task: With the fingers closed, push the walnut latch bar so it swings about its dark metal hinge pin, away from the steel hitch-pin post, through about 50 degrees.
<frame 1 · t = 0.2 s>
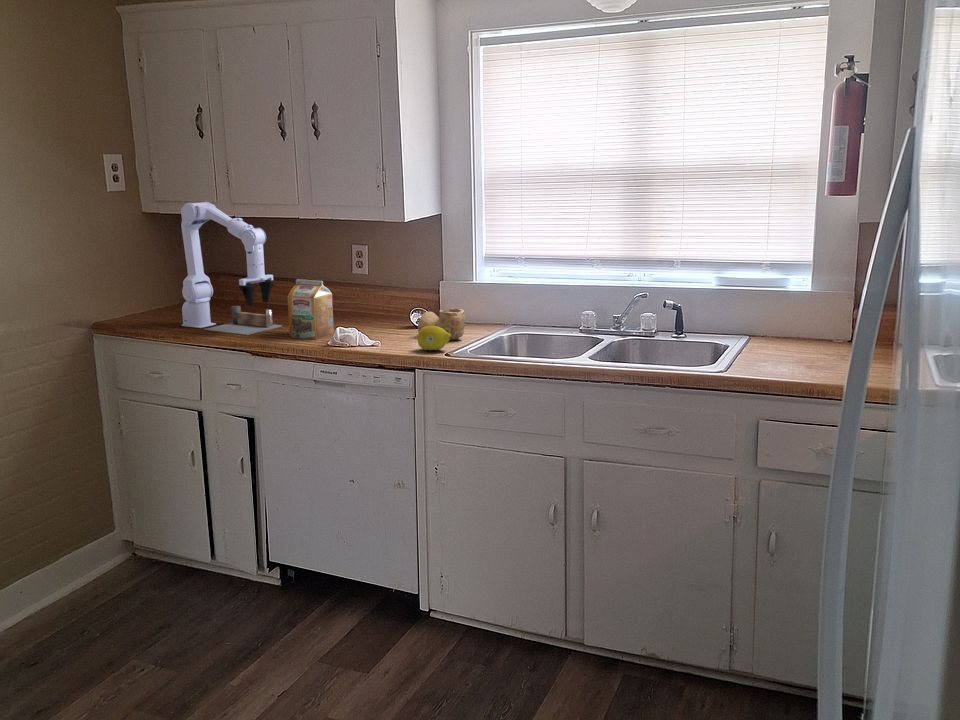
hand: (258, 303, 301), 10 cm above the counter, fingers open, 7 cm apart
mat: (243, 328, 310), on the counter
hitch post: (269, 326, 313), resting on mat
latch bar: (250, 316, 313), point 4 cm above the counter, hinge at 0.0°
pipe: (443, 339, 292), on the counter
milk carton: (311, 336, 297), on the counter
lemon: (433, 351, 273), on the counter
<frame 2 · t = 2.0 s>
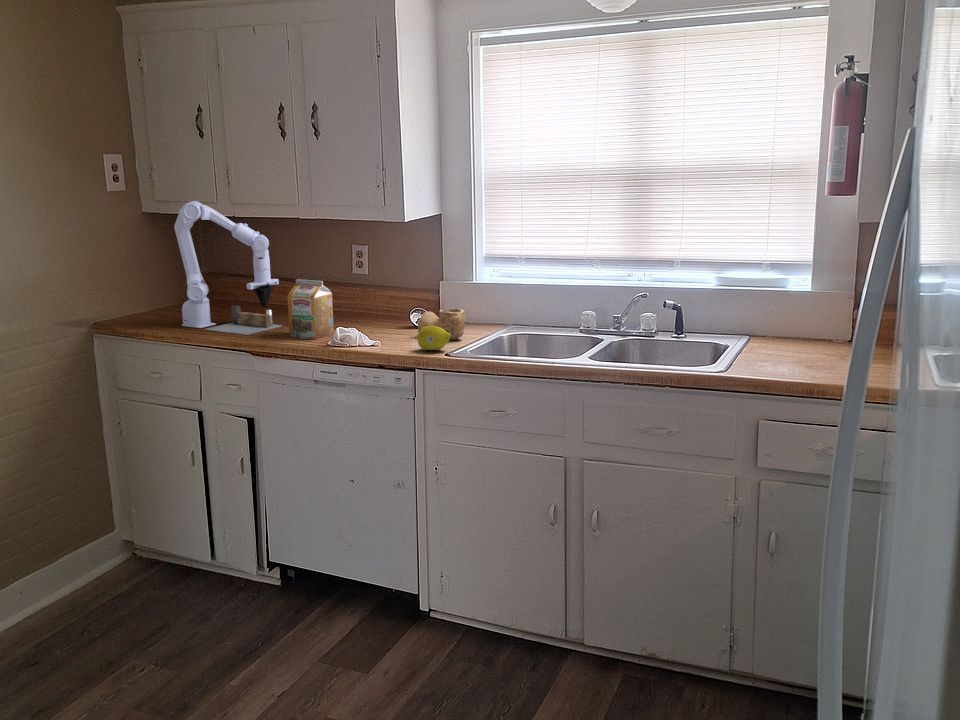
hand: (264, 306, 317), 6 cm above the counter, fingers closed
nothing on the counter moved.
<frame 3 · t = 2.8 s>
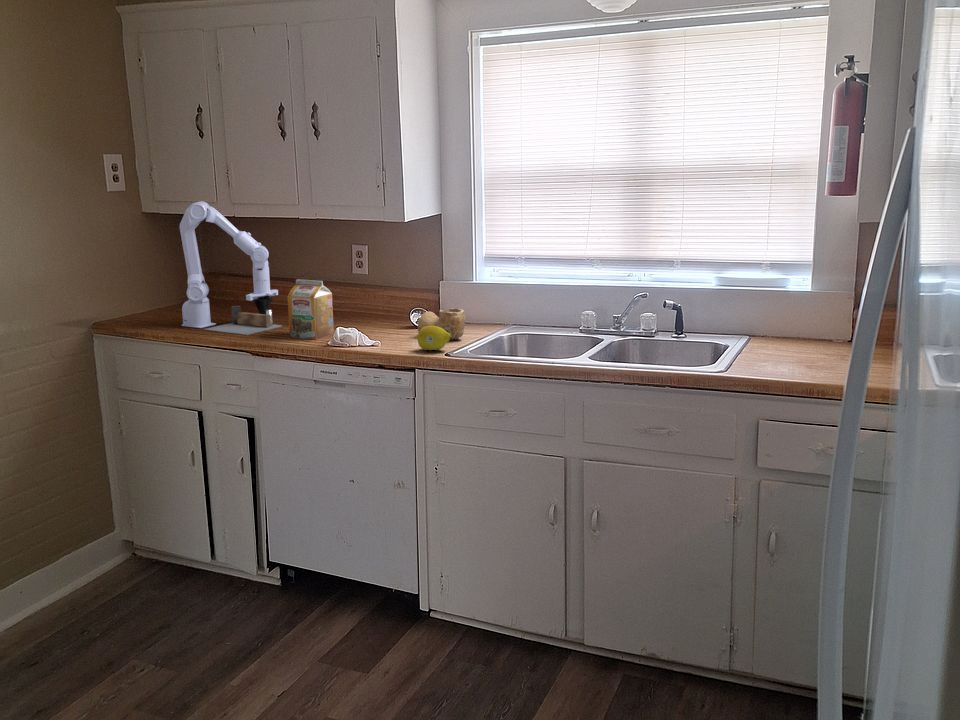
hand: (263, 317, 317), 2 cm above the counter, fingers closed
nothing on the counter moved.
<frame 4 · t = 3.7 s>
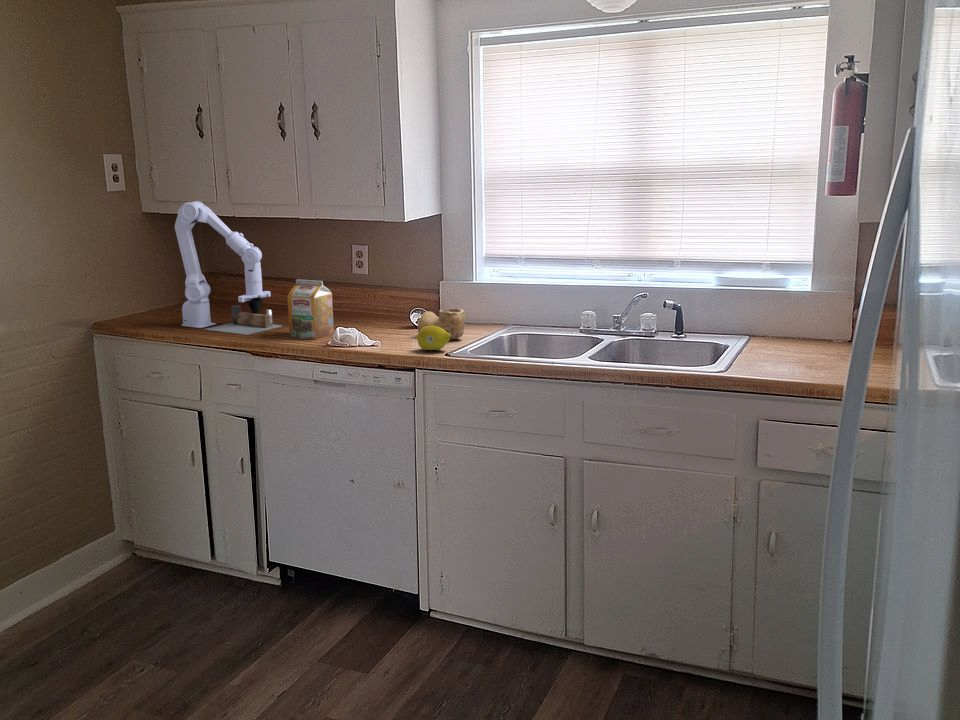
hand: (256, 319, 314), 2 cm above the counter, fingers closed, pressing on latch bar
latch bar: (250, 316, 313), point 4 cm above the counter, hinge at 1.3°, touching gripper
everything else where it was.
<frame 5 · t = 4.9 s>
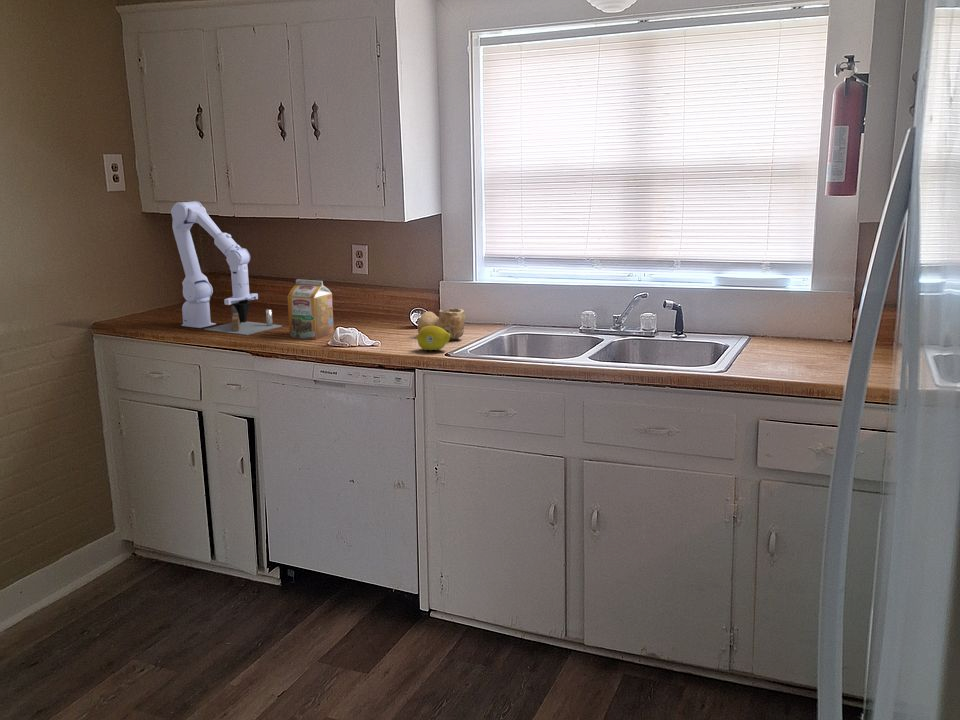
hand: (243, 322, 308), 2 cm above the counter, fingers closed, pressing on latch bar
latch bar: (235, 318, 310), point 4 cm above the counter, hinge at 47.8°, touching gripper
everything else where it was.
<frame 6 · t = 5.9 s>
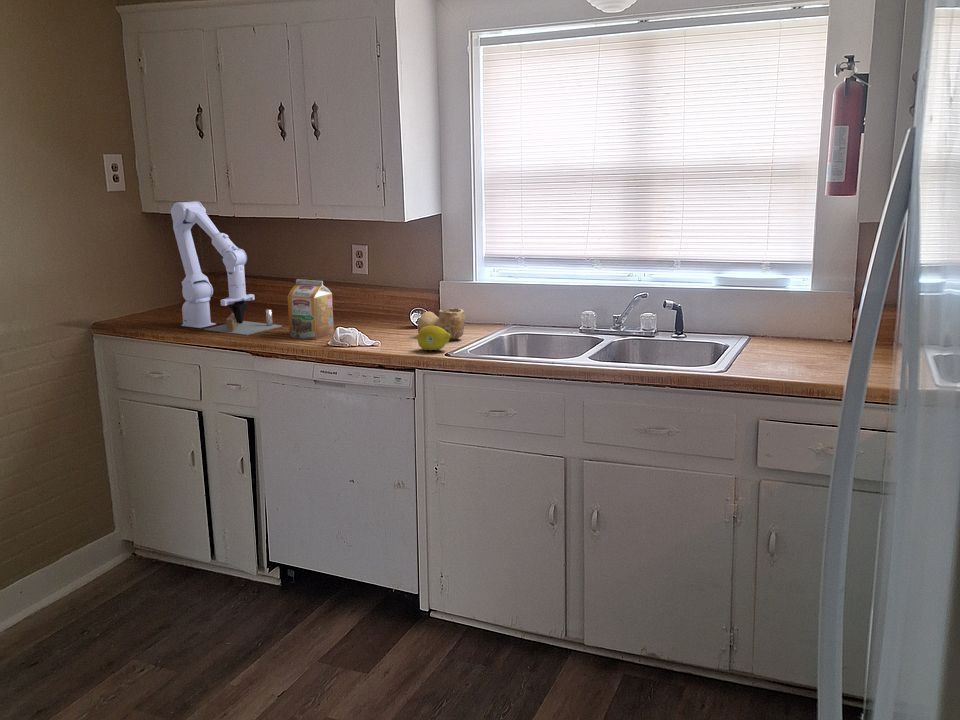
hand: (239, 323, 306), 2 cm above the counter, fingers closed
latch bar: (233, 318, 309), point 4 cm above the counter, hinge at 55.3°, touching gripper
everything else where it was.
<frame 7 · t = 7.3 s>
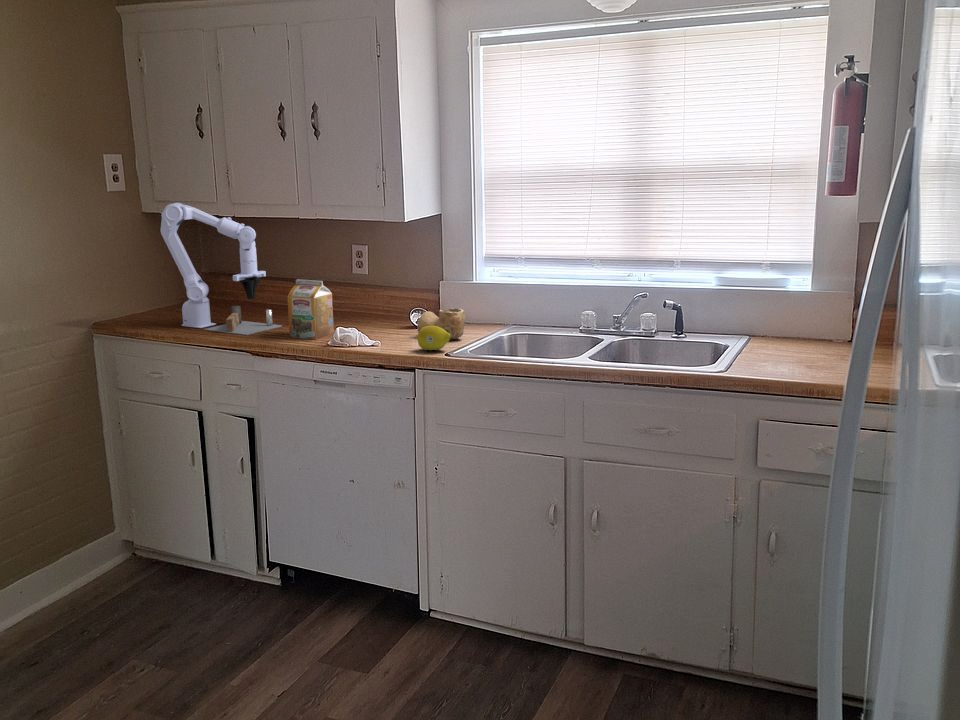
hand: (251, 298, 315), 9 cm above the counter, fingers closed
latch bar: (233, 318, 309), point 4 cm above the counter, hinge at 55.6°
everything else where it was.
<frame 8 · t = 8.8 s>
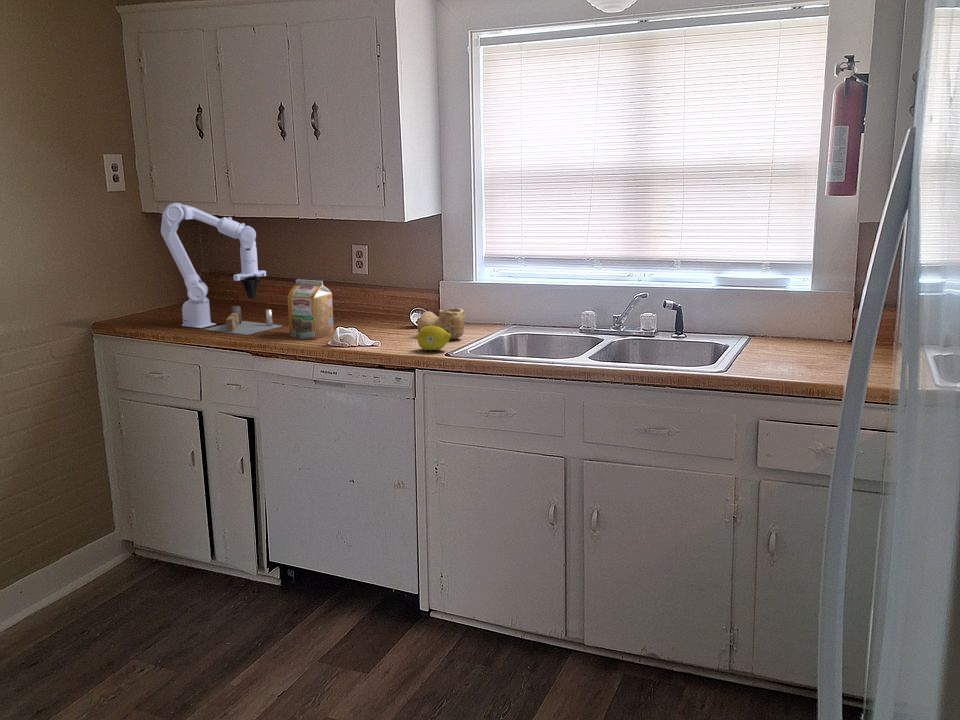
hand: (251, 298, 316), 9 cm above the counter, fingers closed
nothing on the counter moved.
at the end: latch bar at +56° (first picture: +0°); latch bar touching nothing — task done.
